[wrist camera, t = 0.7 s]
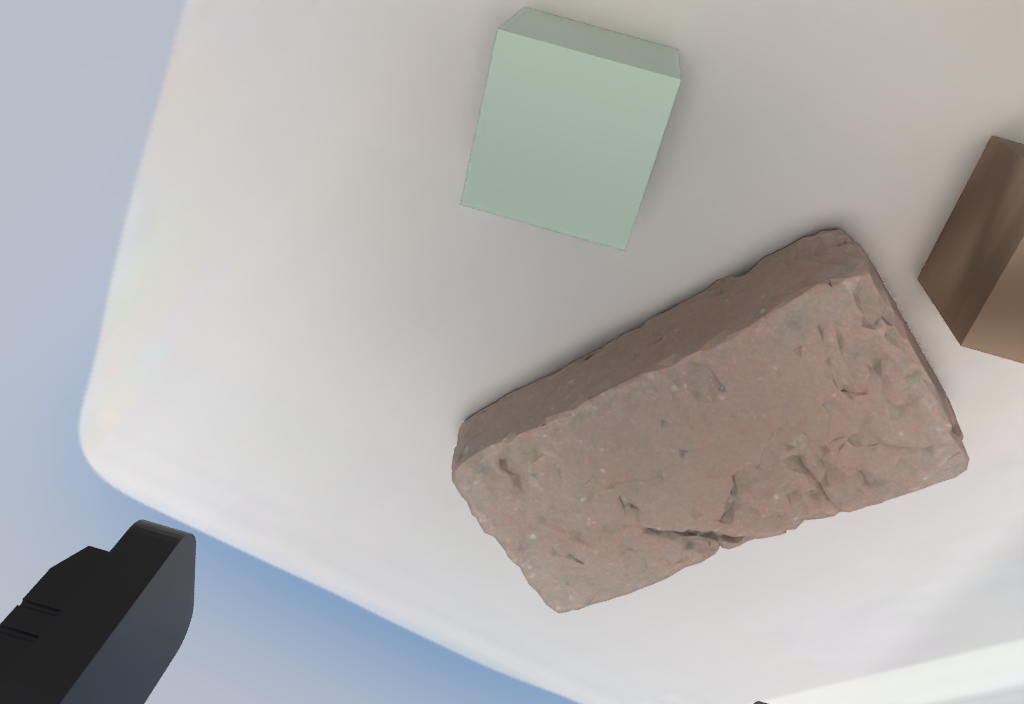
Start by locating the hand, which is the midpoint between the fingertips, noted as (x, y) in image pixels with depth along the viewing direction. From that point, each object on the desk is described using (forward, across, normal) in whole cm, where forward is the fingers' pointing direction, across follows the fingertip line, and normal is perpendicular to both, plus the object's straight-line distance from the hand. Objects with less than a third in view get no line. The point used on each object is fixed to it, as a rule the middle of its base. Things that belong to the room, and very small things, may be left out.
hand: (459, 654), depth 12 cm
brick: (+20, -6, +7) cm, 22 cm away
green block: (+20, +1, -3) cm, 20 cm away
